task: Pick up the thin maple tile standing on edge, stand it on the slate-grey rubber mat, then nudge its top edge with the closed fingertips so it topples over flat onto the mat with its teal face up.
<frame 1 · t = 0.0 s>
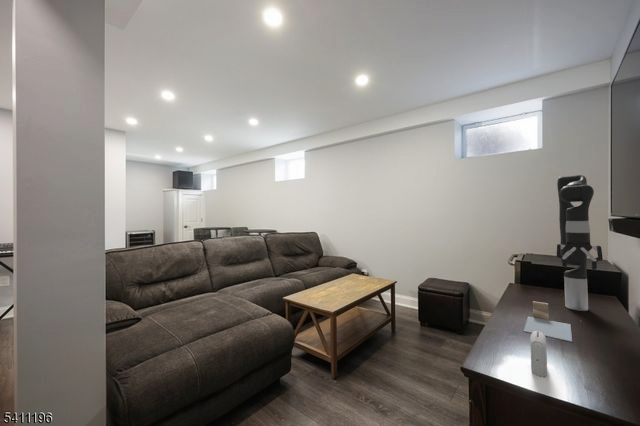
hand: (578, 268, 115), 29 cm above the table, fingers open, 8 cm apart
mat: (547, 328, 124), on the table
tile: (540, 318, 135), on the table
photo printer: (539, 369, 92), on the table
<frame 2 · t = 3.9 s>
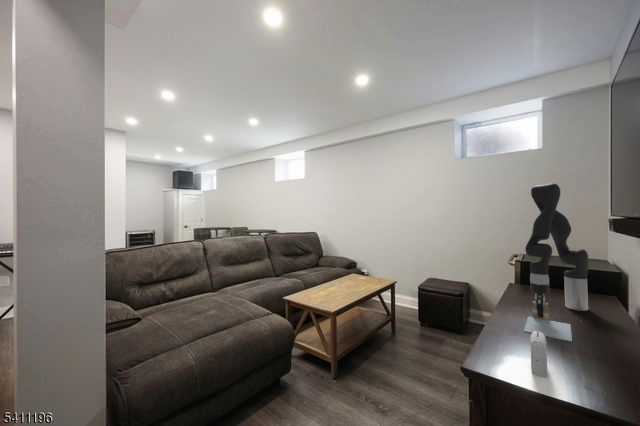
hand: (540, 316, 135), 1 cm above the table, fingers closed on tile, 2 cm apart
tile: (540, 318, 135), on the table, touching gripper
everything else where it was.
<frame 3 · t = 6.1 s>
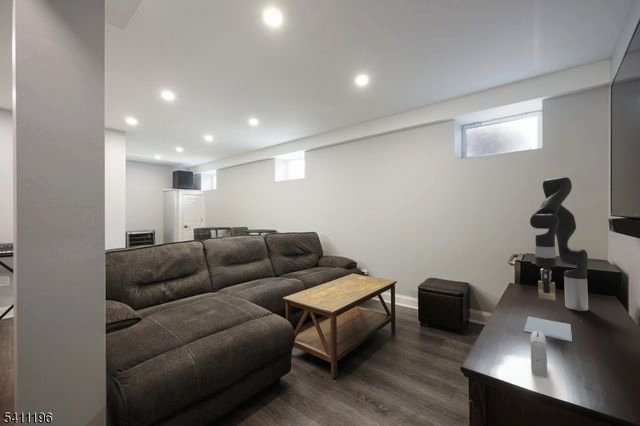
hand: (546, 292, 126), 16 cm above the table, fingers closed on tile
tile: (546, 298, 126), point 13 cm above the table, touching gripper
everything else where it was.
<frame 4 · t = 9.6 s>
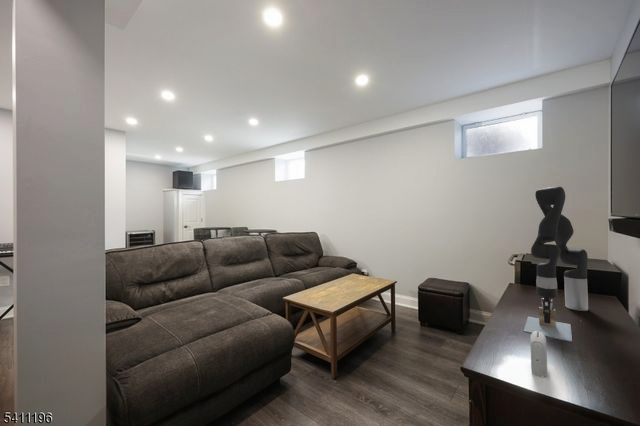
hand: (547, 320, 126), 3 cm above the table, fingers open, 8 cm apart
tile: (547, 325, 126), resting on mat
everything else where it was.
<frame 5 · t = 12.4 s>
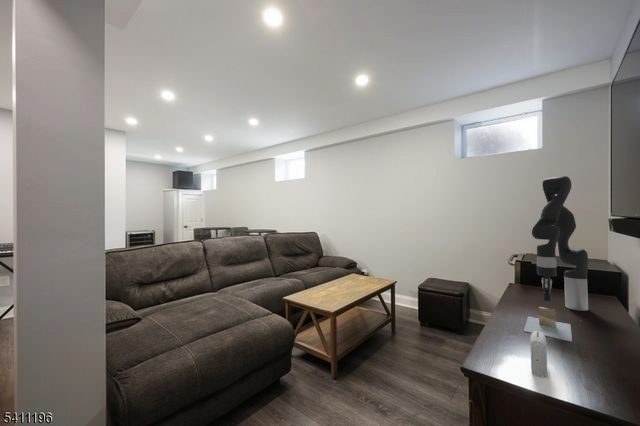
hand: (547, 300, 132), 10 cm above the table, fingers closed
nothing on the table moved.
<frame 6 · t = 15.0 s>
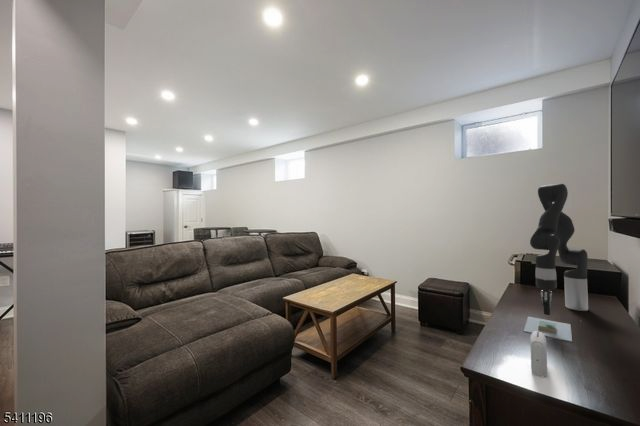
hand: (546, 314, 125), 6 cm above the table, fingers closed
tile: (547, 324, 125), point 1 cm above the table, tilted 90°, touching mat
everything else where it was.
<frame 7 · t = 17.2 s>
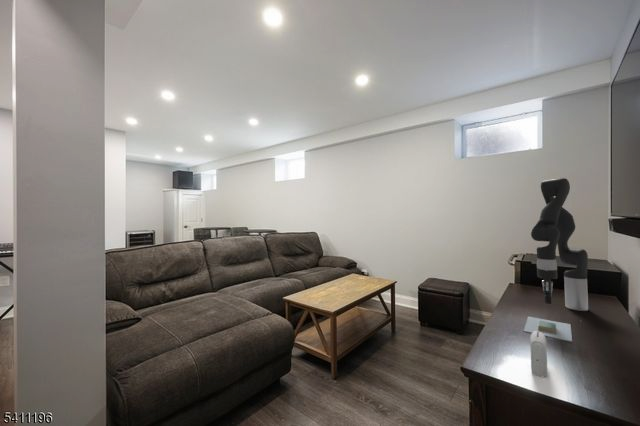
hand: (548, 303, 129), 10 cm above the table, fingers closed
nothing on the table moved.
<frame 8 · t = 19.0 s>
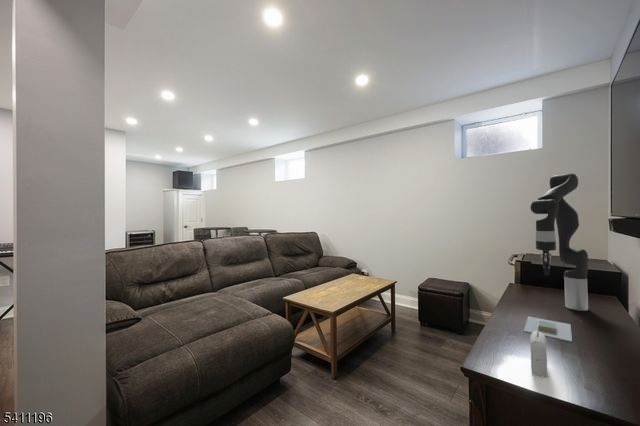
hand: (546, 275, 131), 23 cm above the table, fingers closed
nothing on the table moved.
at the end: tile tilted 90°; tile inside the target area (2.2 cm from its centre), point 1.3 cm above the table; the gripper is holding nothing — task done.
